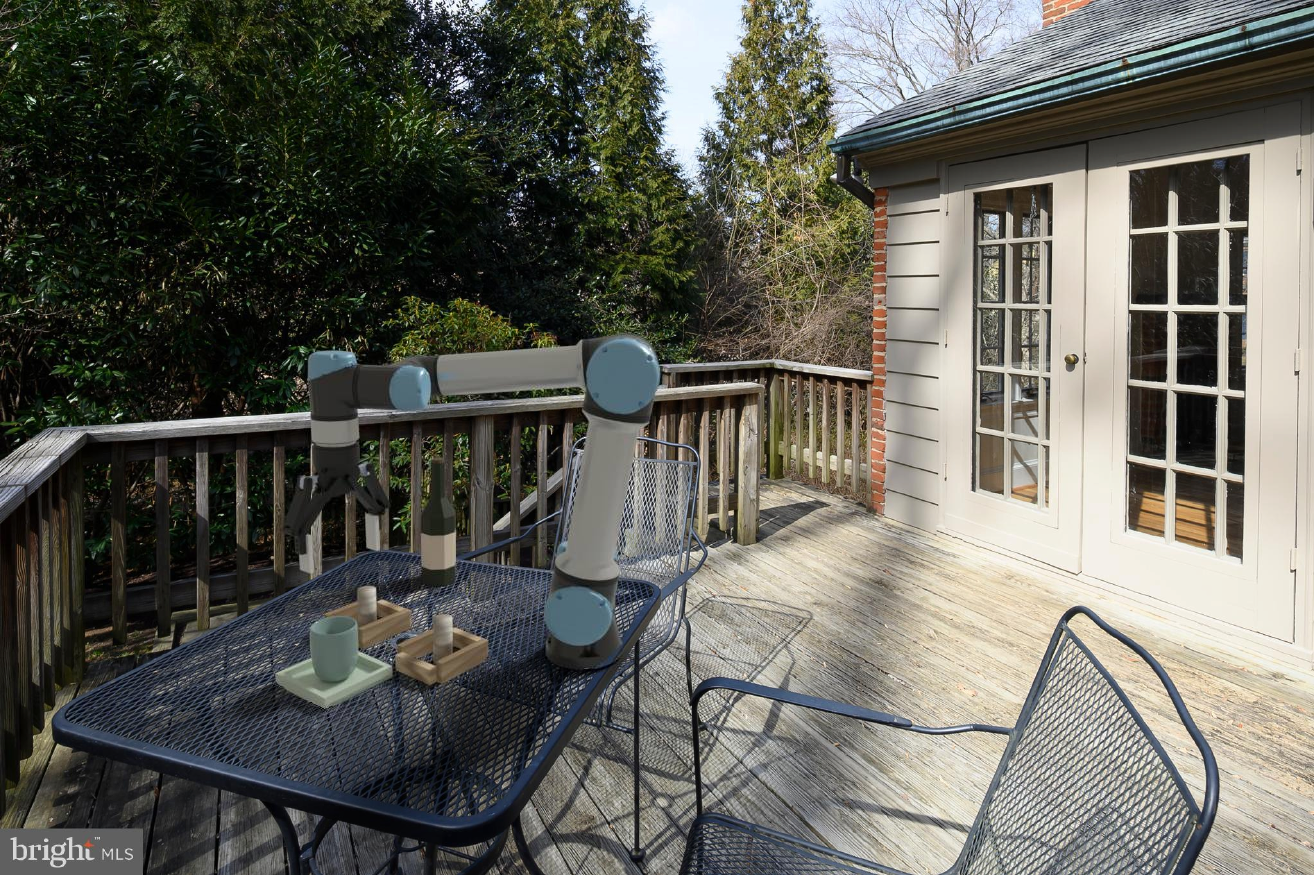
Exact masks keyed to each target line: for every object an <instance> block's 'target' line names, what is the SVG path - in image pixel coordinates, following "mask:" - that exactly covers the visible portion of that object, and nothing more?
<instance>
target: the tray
mask: <svg viewBox="0 0 1314 875" xmlns="http://www.w3.org/2000/svg"><path fill="white" fill-rule="evenodd" d="M274 674H275V677H274V678H275V683H276V682H277V683H278V684H280V685H281V686H283V687H284V688H285V689H286V691H288V692H289V693H291V694H293V695H295V696H296V697H299V698H301V699H303V700H304V701H306V700H307V701H306V702H308V703H310V702H312V703H313V704H312V703H311V704H312V705H314V704H316V705H318V706H321V707H322V708H324V709H325V708H328V707H329V706H333V707H334V706H337V705H339V704H341V703H344V701H347V700H350V699H351V698H353V697H355V696H358V695H360V694H361V693H363V692H365V691H367V690H369V689H371V688H373V687H375V686H377V685H379V684H381V683H384V682H385V681H387V680H389V679H392V678H393V665H390V664H389V663H387V662H384V661H382V660H379V659H377V658H375V657H372V656H371V655H368V654H366V653H364V652H361V651H359V650H358V660H357V665H356V668H355V670H354V672H353V673H352V674H351V675H350V676H349V677H347V678H346V679H344V680H341V681H337V682H327V681H324V680H322V679H320V678H319V677H318V676H317V675H316V674H315V672H314V669H313V665H312V660H311V657H310V658H308V659H306V660H303V661H301V662H298V663H297V664H294V665H291V666H289V667H287V668H285V669H283V670H279V671H278V672H275V673H274ZM285 689H284V690H285ZM316 705H315V706H316ZM318 706H317V707H318ZM322 708H321V709H322ZM324 709H323V710H324Z"/></svg>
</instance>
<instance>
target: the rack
mask: <svg viewBox="0 0 1314 875" xmlns="http://www.w3.org/2000/svg"><path fill="white" fill-rule="evenodd" d="M356 594H357V600H356V601H354V602H352V603H350V604H347V605H344V606H342V607H339V608H337V609H334V610H331V611H328V612H326V613H324V614H323V619H324V618H327V617H332V616H346V617H350V618H353V619H354V620H356V622H357V625H358V649H362V650H365V649H367V648H369V647H371V646H374V645H376V644H378V643H380V642H383V641H385V640H387V639H389V638H392V637H394V636H397V635H399V634H401V633H403V632H405V631H407V630H410V629H411V625H412V623H413V622H412V621H413V620H412V610H411V609H408V608H405V607H402V606H401V605H398V604H395V603H392V602H389V601H387V600H385V599H380V600H378V601H377V587H375V586H373V585H366V586H365V585H364V586H360V587H358V588H357V590H356ZM378 617H380V619H378ZM453 618H454V617H453V616H452V615H450V614H445V613H444V614H442V613H441V614H437V615H434V617H433V618H432V628H431V629H430V630H427V631H425V632H422V633H421V634H418V635H416V636H414V637H412V638H410V639H409V638H408V639H407V640H405V641H403V642H401V643H398V644H397V646H396V649H397V650H396V652H397V653H396V654H395V671H397V672H399V673H402V674H403V675H406V676H409V677H411V678H412V679H415V680H418V681H420V682H422V681H423V682H422V683H424V684H426V685H428V686H432V685H433V684H435V683H439V684H441V685H443V684H445V683H447V682H449V681H452V680H453V679H454V678H456V677H458V676H460V675H461V674H464V673H465V672H467V671H469V670H471V669H473V668H474V667H476V666H478V665H480V664H482V663H484V662H486V661H485V659H486V658H487V657H488V658H489V656H488V655H489V640H488V639H486V638H483V637H480V636H479V635H475V634H473V633H470V632H467V631H465V630H462V629H460V628H458V627H453V620H454V619H453ZM453 647H454V648H455V647H456V648H458V650H457V651H455V652H453V651H454V650H453V649H454V648H453ZM431 652H432V653H431ZM429 653H430V654H432V655H433V657H432V658H433V659H432V660H433V661H432V662H433V664H432V663H429V662H427V661H424V660H422V659H421V658H419V659H418V658H415V657H420V656H423V655H425V654H427V655H429ZM425 656H426V655H425ZM423 657H424V656H423Z"/></svg>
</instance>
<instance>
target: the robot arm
mask: <svg viewBox="0 0 1314 875" xmlns="http://www.w3.org/2000/svg"><path fill="white" fill-rule="evenodd" d="M307 363H308V364H307V383H308V385H307V386H308V396H309V409H310V428H311V429H310V430H311V441H312V442H314V443H313V445H312V446H311V451H312V454H311V455H312V464H313V466H314V474H313V475H311V476H310V475H309V476H306V475H301V474H300V475H298V476H297V480H296V490H295V492H294V495H293V498H292V501H291V505H290V507H289V509H288V512H287V515H286V518H285V520H284V524H283V525H282V529H281V532H282V533H283V534H286V535H289V536H291V537H293V539H294V541H293V542H294V552H295V554H297V555H298V556H299V557H298V558H299V571H302V572H305V573H308V574H313V573H314V572H315V565H314V564H315V562H314V547H313V546H314V545H313V535H312V534H309V532H310V530H311V529H312V527H313V525H314V524H315V522H316V521H317V519H318V517H319V516H320V513H321V511H323V508H324V507H325V505H326V504H327V503H329V501H330V500H331V499H332V498H336V497H337V498H338V497H339V496H341V495H349V494H350V493H351V494H352V495H353V497H355V499H357V500H358V502H360V504H361V505H363V506H364V508H365V509H366V510H367V511H368V513H365V514H364V515H365V516H364V518H365V539H366V540H365V542H366V549H370V550H372V551H376V552H378V551H380V550H381V549H380V548H381V547H380V546H381V544H380V531H381V530H382V527H383V526H382V523H383V522H382V516H384V515H385V514H386V513H387V511H386V509H387V510H388V509H390V508H391V505H392V504H391V502H390V500H389V499H388V496H387V494H386V492H385V490H384V489H383V486H382V485H381V483H380V480H379V479H378V476H377V475H376V471H375V470H376V468H375V464H374V463H371V462H367V461H361V458H360V457H361V456H360V455H361V454H360V443H358V442H359V441H358V440H359V439H360V432H359V431H360V428H359V427H360V426H359V412H358V410H381V411H383V410H384V411H398V412H399V411H401V412H406V413H407V412H409V411H410V412H412V411H415V412H416V411H417V412H418V411H419V412H420V411H423V410H425V409H426V408H427V407H428V404H429V402H430V399H431V398H434V397H436V398H437V397H438V398H439V397H445V396H459V395H460V396H461V395H473V394H476V395H478V394H487V393H488V394H489V393H503V392H504V393H506V392H517V391H518V392H520V391H522V392H523V391H533V390H535V391H536V390H537V391H538V390H550V389H565V388H567V389H568V388H580V389H581V390H583V392H584V399H583V404H582V410H581V411H582V413H583V414H584V416H585V417H586V419H587V421H588V427H587V432H586V438H585V441H584V448H583V454H582V460H581V464H580V469H579V470H580V471H579V475H578V481H577V486H576V487H577V488H576V493H575V498H574V503H573V510H572V514H571V519H570V525H569V530H568V531H569V532H568V537H567V540H565V541H563V542H561V543H560V544H559V545H557V552H556V555H555V559H554V566H553V571H552V576H551V582H550V587H549V591H548V592H549V593H548V597H547V600H546V601H545V604H544V606H543V607H544V608H543V613H544V622H545V625H546V627H547V629H548V631H549V633H548V634H547V635H548V636H547V639H546V642H545V654H546V657H547V658H548V660H549V661H550V662H551V663H553V665H556V666H559V667H561V668H564V667H565V669H567V668H569V669H568V670H572V669H575V670H574V671H580V670H579V669H584V668H592V667H595V666H597V665H600V664H601V663H603V662H604V661H606V660H607V659H609V657H611V656H612V655H613V654H614V653H615V652H616V650H618V648H619V647H620V645H621V644H622V645H623V641H622V638H621V635H620V632H619V629H618V628H619V627H618V624H617V621H616V614H615V610H616V593H617V590H618V589H617V588H618V582H619V577H620V572H621V568H620V566H619V565H618V563H617V561H619V558H618V551H617V542H618V538H619V534H620V529H621V524H622V523H621V522H622V518H623V513H624V508H625V501H626V497H627V493H628V486H629V483H630V477H631V473H632V472H631V471H632V466H633V461H634V456H635V451H636V446H637V442H638V437H639V432H640V431H641V430H642V429H643V428H645V427H646V426H647V425H649V424H650V422H651V415H652V412H653V411H652V410H653V406H654V400H655V396H656V392H657V391H658V389H659V387H660V379H661V370H660V369H661V368H660V365H659V358H658V354H657V352H656V350H655V349H654V347H653V345H651V344H650V342H649V341H648V340H647V339H645V338H644V337H642V336H639V335H638V334H635V333H630V332H623V333H617V334H612V335H608V336H602V337H597V338H587V339H586V338H585V339H580V340H579V341H578V342H577V343H576V345H568V346H553V347H551V346H550V347H541V348H539V347H537V348H526V349H525V348H523V349H511V350H498V351H495V350H494V351H484V352H472V353H471V352H470V353H452V354H442V355H430V356H427V355H422V354H417V355H409V356H408V357H406V358H403V359H402V360H399V361H396V362H393V363H391V364H388V365H386V364H385V365H383V364H379V365H377V364H374V365H373V364H361V363H358V362H357V360H356V355H355V353H353V352H351V351H348V350H347V351H346V350H345V351H344V350H321V351H316V352H313V353H311V354H310V355H309V356H308V359H307ZM360 476H361V477H362V478H361V479H362V480H363V482H364V484H365V485H366V487H367V489H368V491H369V493H370V494H369V493H368V492H367V491H366V490H365V489H364V487H363V485H361V484H362V483H360V482H359V481H358V479H359V477H360ZM313 489H314V490H313ZM322 493H323V494H322Z"/></svg>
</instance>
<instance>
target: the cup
mask: <svg viewBox="0 0 1314 875" xmlns="http://www.w3.org/2000/svg"><path fill="white" fill-rule="evenodd" d="M309 648H310V650H309V651H310V658H311V660H312V665H313V669H314V672H315V674H316V675H317V676H318V677H319V678H320V679H322V680H324V681H327V682H337V681H341V680H344V679H346V678H347V677H349V676H350V675H351V674H352V673H353V672H354V670H355V668H356V665H357V660H358V651H359V647H358V623H357V622H356V620H354V619H353V618H350V617H346V616H332V617H327V618H324V617H323V618H321V619H318V620H317V621H314V623H312V624H311V626H310V627H309Z"/></svg>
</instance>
